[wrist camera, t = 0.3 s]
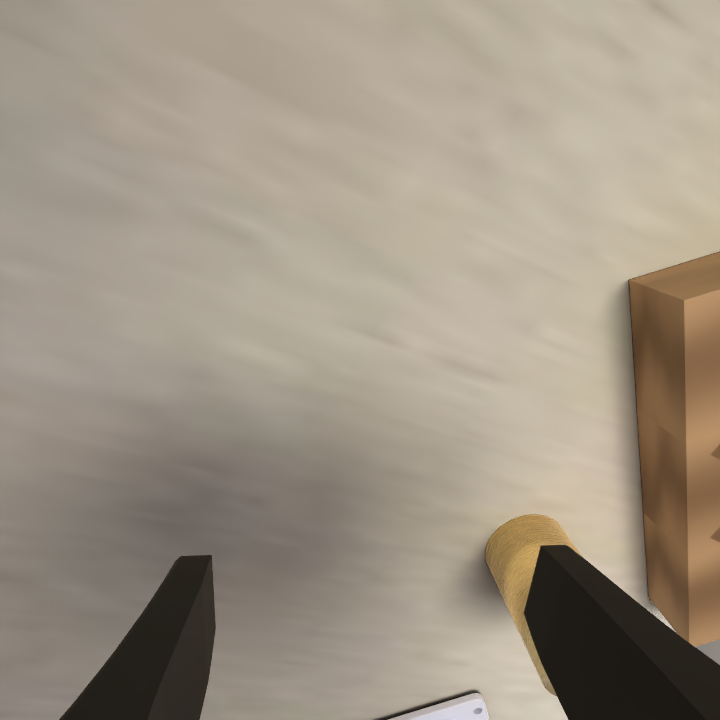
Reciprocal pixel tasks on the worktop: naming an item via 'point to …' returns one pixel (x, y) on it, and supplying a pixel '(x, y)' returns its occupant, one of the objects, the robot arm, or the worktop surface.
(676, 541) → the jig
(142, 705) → the robot arm
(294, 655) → the worktop surface
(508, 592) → the bushing
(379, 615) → the worktop surface
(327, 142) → the worktop surface
